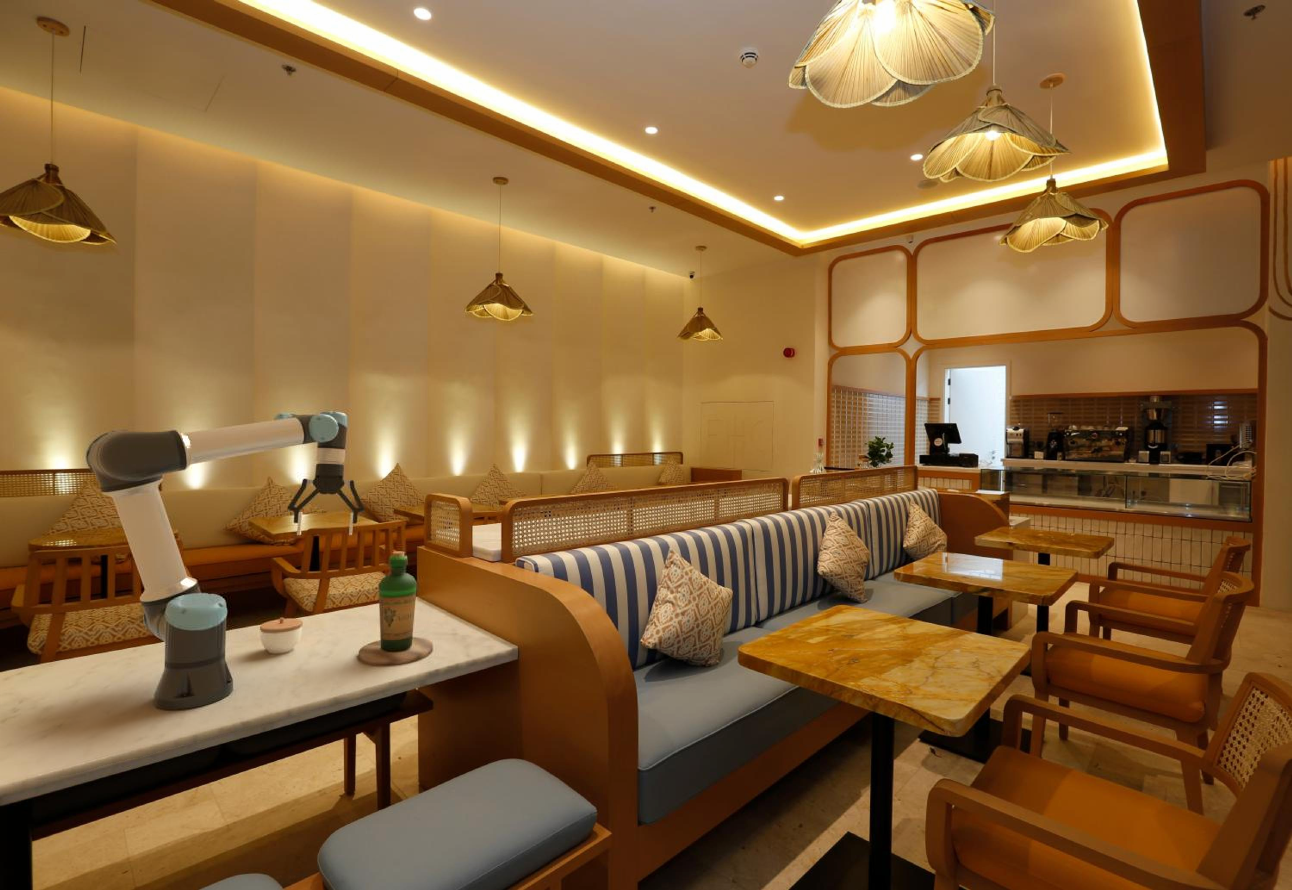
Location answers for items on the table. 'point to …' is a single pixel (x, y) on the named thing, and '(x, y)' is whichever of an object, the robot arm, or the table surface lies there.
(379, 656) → the serving board
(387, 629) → the bottle
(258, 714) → the table surface
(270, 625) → the lidded jar
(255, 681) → the table surface
